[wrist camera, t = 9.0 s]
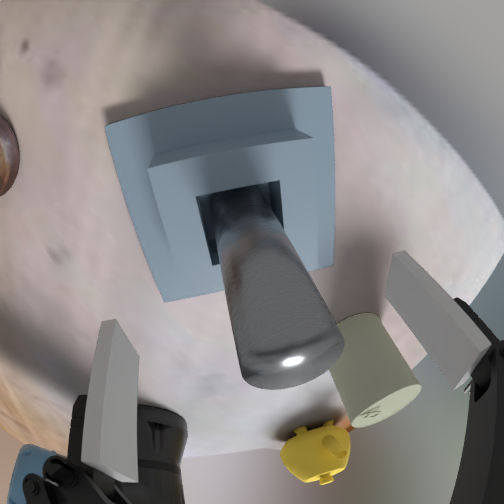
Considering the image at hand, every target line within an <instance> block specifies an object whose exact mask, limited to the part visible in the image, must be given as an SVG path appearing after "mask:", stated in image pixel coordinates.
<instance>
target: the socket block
mask: <svg viewBox="0 0 504 504" xmlns="http://www.w3.org/2000/svg"><path fill="white" fill-rule="evenodd" d="M104 127H105V131H106V135H107V139H108V143H109V146H110V150H111V154H112V157H113V161H114V164H115V168H116V171H117V175H118V178H119V181H120V185H121V188H122V191H123V194H124V197H125V200H126V203H127V206H128V209H129V212H130V215H131V218H132V221H133V224H134V227H135V230H136V232H137V235H138V238H139V241H140V243H141V246H142V249H143V251H144V254H145V257H146V259H147V262H148V264H149V267H150V269H151V272H152V274H153V277H154V279H155V282H156V284H157V286H158V289H159V291H160V294H161V296H162V298H163V301H164V303H165V302H170V301H175V300H180V299H185V298H190V297H195V296H200V295H205V294H210V293H215V292H219V291H224V290H225V289H224V284H223V278H222V273H221V267H220V261H219V256H218V250H217V244H216V238H215V233H214V227H213V221H212V215H211V208H210V200H211V197H212V194H213V193H215V192H219V191H224V190H229V189H234V188H239V187H245V186H250V185H255V184H256V185H257V186H258V188H259V189H260V190H261V192H262V194H263V195H264V197H265V199H266V200H267V202H268V204H269V205H270V207H271V209H272V210H273V212H274V214H275V216H276V217H277V219H278V221H279V222H280V224H281V226H282V227H283V229H284V231H285V233H286V234H287V236H288V238H289V240H290V241H291V243H292V245H293V246H294V248H295V250H296V252H297V253H298V255H299V257H300V259H301V261H302V262H303V264H304V266H305V268H306V269H307V271H312V270H317V269H321V268H325V267H329V266H333V259H334V232H335V154H334V128H333V110H332V96H331V87H328V86H317V87H297V88H284V89H273V90H263V91H254V92H247V93H239V94H233V95H226V96H220V97H214V98H209V99H204V100H198V101H193V102H189V103H184V104H180V105H175V106H171V107H167V108H163V109H159V110H155V111H151V112H148V113H144V114H140V115H137V116H134V117H130V118H127V119H124V120H120V121H117V122H114V123H111V124H108V125H106V126H104Z"/></svg>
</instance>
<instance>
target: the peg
mask: <svg viewBox="0 0 504 504" xmlns="http://www.w3.org/2000/svg"><path fill="white" fill-rule="evenodd" d="M210 208H211V215H212V221H213V227H214V233H215V238H216V244H217V250H218V256H219V261H220V267H221V273H222V278H223V284H224V289H225V294H226V300H227V305H228V310H229V315H230V320H231V325H232V330H233V335H234V340H235V345H236V350H237V355H238V360H239V365H240V369H241V374H242V377H243V379H244V380H245V381H246V382H247V383H248V384H250V385H252V386H254V387H257V388H261V389H271V390H273V389H285V388H290V387H294V386H298V385H301V384H304V383H306V382H309V381H311V380H313V379H315V378H317V377H318V376H320V375H322V374H323V373H325V372H326V371H327V370H329V369H330V368H331V367H332V366H333V365H334V364H335V363H336V362H337V361H338V359H339V358H340V356H341V355H342V353H343V350H344V346H345V341H344V338H343V335H342V334H341V332H340V330H339V328H338V326H337V324H336V322H335V320H334V319H333V317H332V315H331V313H330V311H329V309H328V307H327V306H326V304H325V302H324V300H323V298H322V296H321V295H320V293H319V291H318V289H317V287H316V286H315V284H314V282H313V280H312V278H311V277H310V275H309V273H308V271H307V269H306V268H305V266H304V264H303V262H302V261H301V259H300V257H299V255H298V253H297V252H296V250H295V248H294V246H293V245H292V243H291V241H290V240H289V238H288V236H287V234H286V233H285V231H284V229H283V227H282V226H281V224H280V222H279V221H278V219H277V217H276V216H275V214H274V212H273V210H272V209H271V207H270V205H269V204H268V202H267V200H266V199H265V197H264V195H263V194H262V192H261V190H260V189H259V188H258V186H257V185H256V184H255V185H250V186H245V187H239V188H234V189H229V190H224V191H219V192H215V193H213V194H212V197H211V200H210Z"/></svg>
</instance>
